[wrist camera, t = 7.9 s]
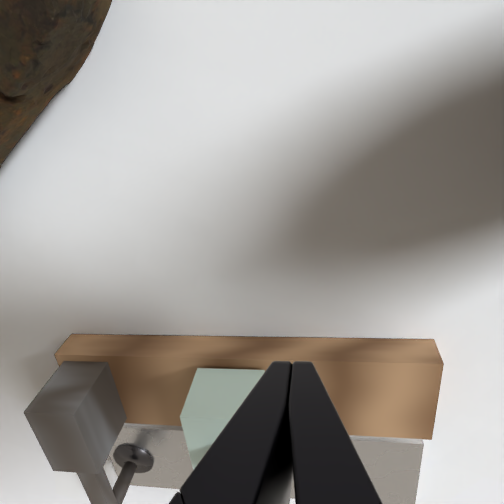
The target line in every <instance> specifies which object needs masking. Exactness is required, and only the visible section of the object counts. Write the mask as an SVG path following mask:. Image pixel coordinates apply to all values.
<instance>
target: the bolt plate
mask: <svg viewBox="0 0 504 504" xmlns="http://www.w3.org/2000/svg"><path fill="white" fill-rule="evenodd" d="M349 436H350V438H351V441H352V443H353V445H354V447H355V449H356V451H357V453H358V455H359V457H360V459H361V461H362V463H363V465H364V467H365V469H366V471H367V473H368V475H369V477H370V479H371V481H372V483H373V485H374V487H375V489H376V491H377V493H378V495H379V497H380V499H381V501H382V503H383V504H415V500H416V493H417V487H418V480H419V473H420V466H421V459H422V452H423V446H424V443H423V440H422V439H411V438H392V437H374V436H355V435H349ZM109 455H110V458H111V460H112V463H113V466H114V468H115V471H116V473H117V476H119V474H120V472H121V470H122V468H123V465H124V463H125V462H126V461H131V462H133V463H135V464H136V465H137V468H136V471H135V473H134V476H133V478H132V480H131V483H130V485H136V486H148V487H160V488H172V489H180V488H181V486H182V485H183V484H184V482H185V481H186V480H187V478H188V477H189V475H190V474H191V473H192V471H193V467H192V463H191V459H190V455H189V451H188V447H187V443H186V440H185V436H184V432H183V428H182V426H170V425H151V424H133V423H124V425H123V427H122V429H121V431H120V433H119V435H118V437H117V439H116V441H115V443H114V445H113V447H112V449H111V451H110V453H109ZM290 498H295V490H294V479H293V480H292V488H291V495H290Z"/></svg>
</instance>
